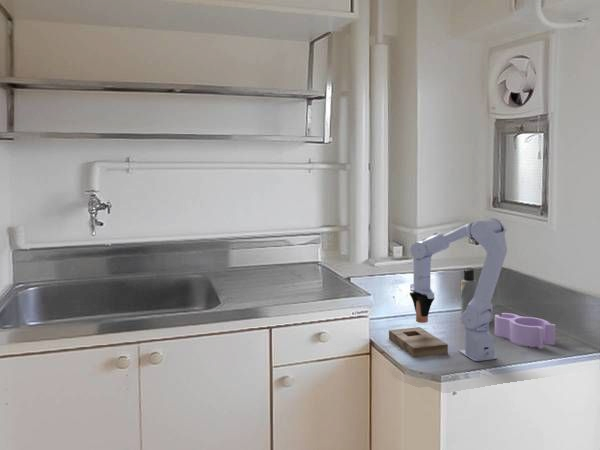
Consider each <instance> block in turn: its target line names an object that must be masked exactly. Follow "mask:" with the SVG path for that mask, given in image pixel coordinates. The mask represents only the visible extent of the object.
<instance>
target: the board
mask: <svg viewBox="0 0 600 450" xmlns="http://www.w3.org/2000/svg"><path fill="white" fill-rule="evenodd" d="M388 339H389V340H390V341H392V342H393V343H394V344H395V345H397V346H398V347H399V348H401V349H402V350H404V351H405V352H406V353H408V354H409V355H410V356H411V357H413V358H419V357H428V356H435V355H436V356H437V355H444V354H446V355H447V354H448V353H449V351H448V350H449V344H448V343H446V342H445V341H443V340H441V339H440V338H438V337H437V336H435V335H434V334H432V333H430V331H429V332H428V331H427V330H425V328H422V327H421V326H417V327H407V328H397V329H390V330H389V329H388Z"/></svg>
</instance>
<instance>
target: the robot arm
mask: <svg viewBox="0 0 600 450" xmlns="http://www.w3.org/2000/svg"><path fill="white" fill-rule="evenodd" d="M506 230H507V229H506V228H505V226H504V225H503V222H501V220H499V219H497V218H493V217H492V218H488V219H485V220H476V221H474V222H470V223H466V224H464V225H461V226H460V227H458V228H455V229H453V230H451V231H449V232H447V233H444V232H439V231H436V232H434V233H433V235H431V236H429V237H424V238H422V241H415V242H414V243H412V244H411V246H410V247H409V252H410V255H411V257H413V283H411V284H410V286H409V287H410V291H411V292H409V296H410V297H411V300H412V302H413V303H412V304H413V306H414V310H415V312H416V301H417V300H419V303H420V309H421V316H422V317H423V316H428V317H429V314H430V310H431V306H432V304H433V302H434V300H435V299H436V298H435V292H433V290H432V288H431V269H432V267H431V261H432V256H433V255H435V254H437V253H439V252H442V251H444V250H447V249H449V247H450V245H451V243H454V242H456V241H459V240H462V239H463V238H466V237H468V238H469V239H471V238H473V239H474V240H475V241H476V242H477V243H478V244H479V245H481V247H482V248H483V249H484V250H485V252H486V256H485V259H484V262H483V266H482V269H481V270H480V271H481V272H480V275H479V278H478V282H477V283H476V291H475V294H474V297H473V299H472V300H471V302H470V303H469V304H468V306H467V309H466V310H465V311H464V312H463V313H462V315H461V314H460V320H461V324H462V325H463V326H464V349H460V350H459V353H461V354H463V355H464V356H466V357H467V358H469V359H470V360H472V361H474V362H481V361H488V360H489V361H490V360H496V359H497V358H498V357H497V356H495V355H496V354H495V351H496V349H495V348H496V347H495V346H496V345H495V344H496V343H495V342H496V341H495V339H496V338H495V337H494V336H493V335H492V333H491V332H490V323H491V322H492V320H493V317H494V314H493V308H494V304H493V303H492V299H493V296H494V293H495V289H496V286H497V284H498V281H499V277H500V274H501V272H502V271H501V270H502V268H503V265H504V261H505V259H506V256H507V252H508V248H507V241H506Z"/></svg>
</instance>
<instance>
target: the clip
mask: <svg viewBox="0 0 600 450" xmlns="http://www.w3.org/2000/svg"><path fill="white" fill-rule="evenodd" d="M494 335H495V336H497V337H499V338H504V339H508V340H509V341H511V342H512V344H515V345H519V346H522V347H528V346H529V347H531V348H538V349H540V350H541V349H542V350H543V349H544V344H545V345H552V346H555V345H556V323H555V324H554V323H550V321H548V320H546V319H542V318H539V317H538V318H537V317H533V316H521V315H518V314H516V313H509V312H501V316H500V315H499V314H494Z"/></svg>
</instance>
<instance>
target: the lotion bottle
mask: <svg viewBox="0 0 600 450" xmlns="http://www.w3.org/2000/svg"><path fill="white" fill-rule="evenodd" d="M460 284H461V285H460V286H461V287H460V289H461V293H460V295H461V296H460V299H461V300H460V301H461V302H460V316H461V315H462V313H463V312H464V311H465V310H466V309H467V306H468V304H469V303H470V302H471V300H472V299H473V297H474V294H475V291H476V288H477V280H475V269H474V268H471V267H467V268H464V269H463V279H462V280H461V283H460Z"/></svg>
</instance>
